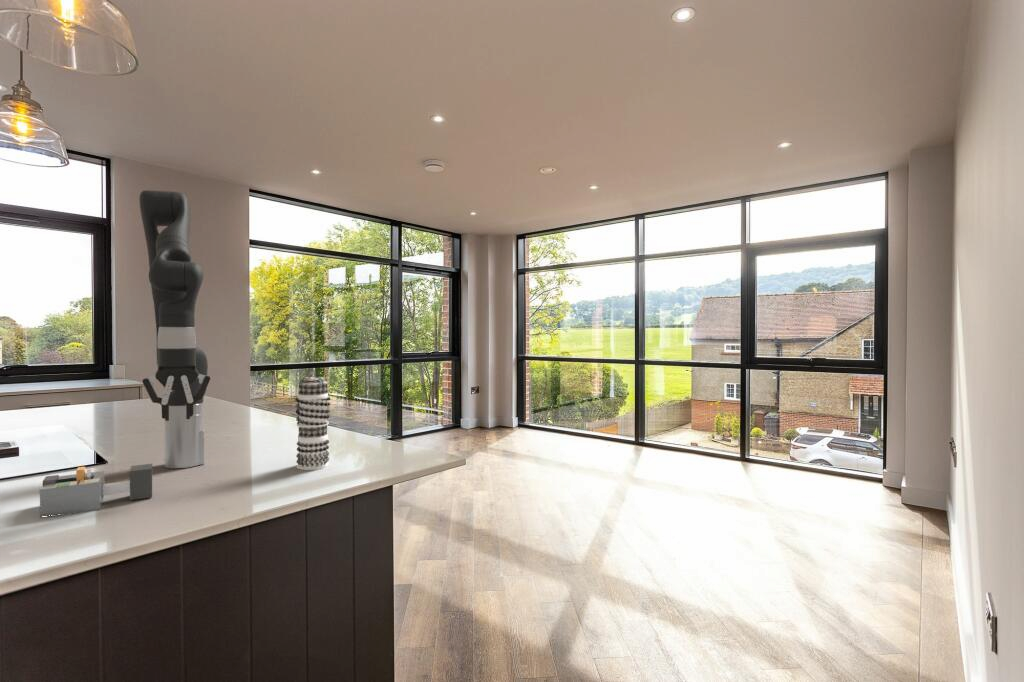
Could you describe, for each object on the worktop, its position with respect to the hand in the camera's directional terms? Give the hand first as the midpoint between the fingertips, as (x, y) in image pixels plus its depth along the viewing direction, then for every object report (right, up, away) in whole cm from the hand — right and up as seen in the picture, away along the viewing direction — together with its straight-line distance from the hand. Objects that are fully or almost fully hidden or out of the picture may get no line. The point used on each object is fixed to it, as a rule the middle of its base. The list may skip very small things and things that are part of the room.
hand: (177, 419), depth 121 cm
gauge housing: (-16, -17, -10) cm, 25 cm away
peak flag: (-15, -16, -9) cm, 24 cm away
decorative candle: (+23, -17, +24) cm, 37 cm away
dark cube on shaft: (-9, -17, -5) cm, 20 cm away
